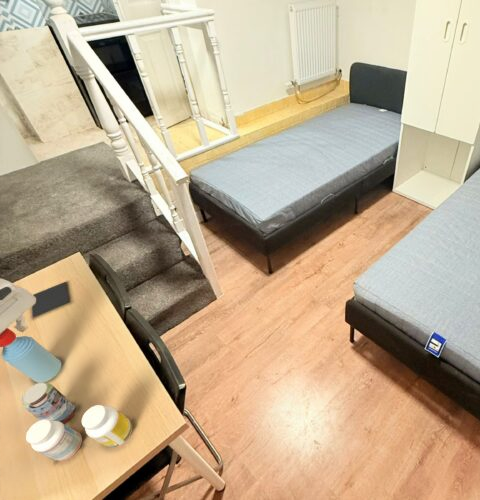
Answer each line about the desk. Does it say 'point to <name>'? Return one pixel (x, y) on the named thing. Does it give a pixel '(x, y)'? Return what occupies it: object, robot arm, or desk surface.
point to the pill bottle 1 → (54, 439)
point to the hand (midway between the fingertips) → (9, 342)
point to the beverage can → (48, 403)
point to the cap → (7, 337)
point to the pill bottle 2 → (106, 425)
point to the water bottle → (31, 359)
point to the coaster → (50, 299)
